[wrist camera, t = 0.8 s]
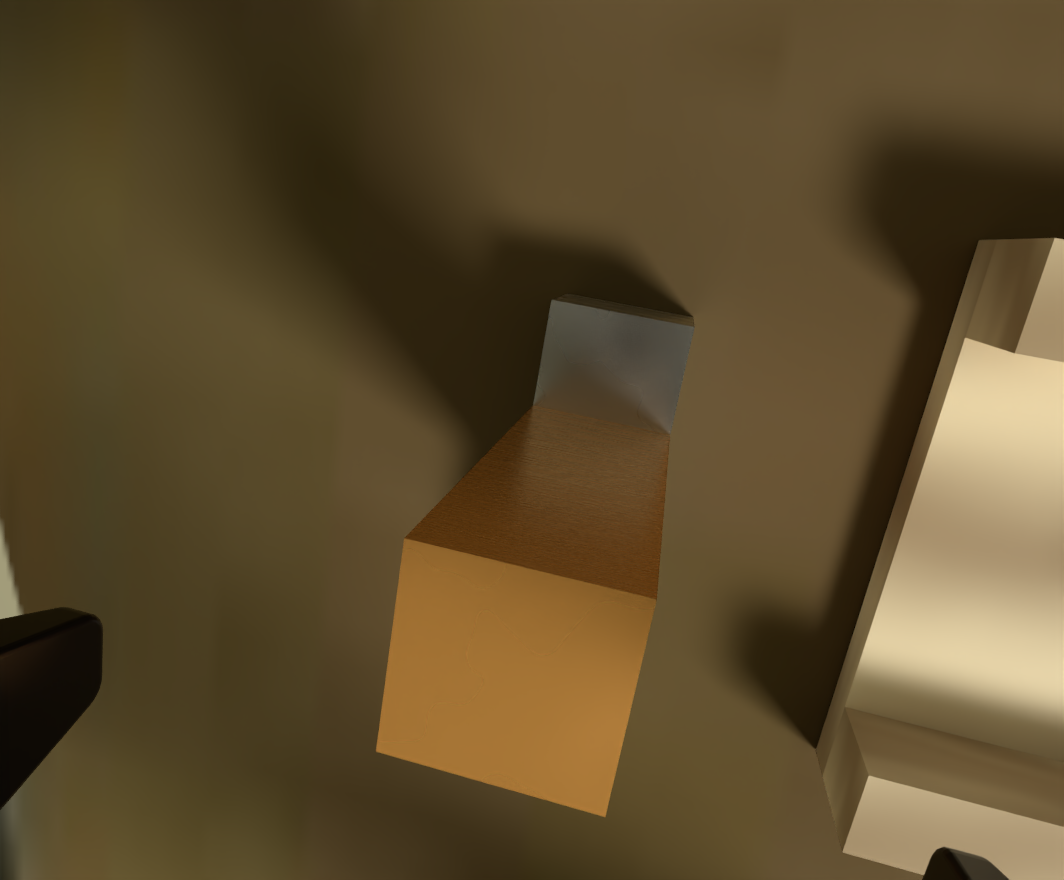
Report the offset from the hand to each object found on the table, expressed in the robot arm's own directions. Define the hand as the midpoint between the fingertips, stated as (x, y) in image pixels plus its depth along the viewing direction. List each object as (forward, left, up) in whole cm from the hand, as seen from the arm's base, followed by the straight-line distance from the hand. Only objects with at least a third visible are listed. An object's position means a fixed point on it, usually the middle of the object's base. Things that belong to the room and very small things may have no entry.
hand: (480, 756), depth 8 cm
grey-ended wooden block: (0, 0, -12) cm, 12 cm away
